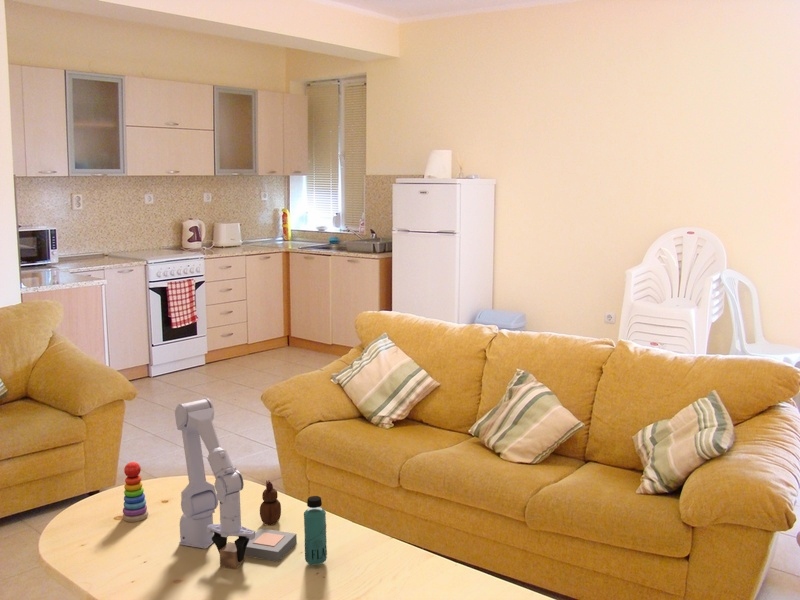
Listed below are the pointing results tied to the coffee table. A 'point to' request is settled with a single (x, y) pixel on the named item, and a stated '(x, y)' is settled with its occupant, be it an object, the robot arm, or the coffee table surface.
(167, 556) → the coffee table surface
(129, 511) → the stacking toy
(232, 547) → the walnut cube
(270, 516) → the wooden figurine
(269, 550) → the slate plinth
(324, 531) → the beverage bottle
